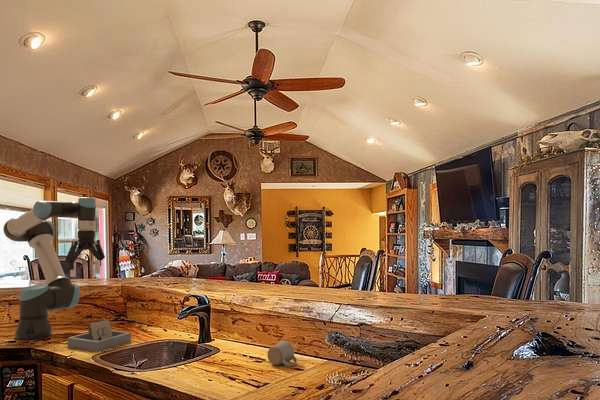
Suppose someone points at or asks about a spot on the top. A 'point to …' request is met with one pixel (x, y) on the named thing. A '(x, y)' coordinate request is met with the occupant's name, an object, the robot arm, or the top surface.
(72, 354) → the top surface
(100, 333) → the electrical switch
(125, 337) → the parts tray
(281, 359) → the ceramic mug
